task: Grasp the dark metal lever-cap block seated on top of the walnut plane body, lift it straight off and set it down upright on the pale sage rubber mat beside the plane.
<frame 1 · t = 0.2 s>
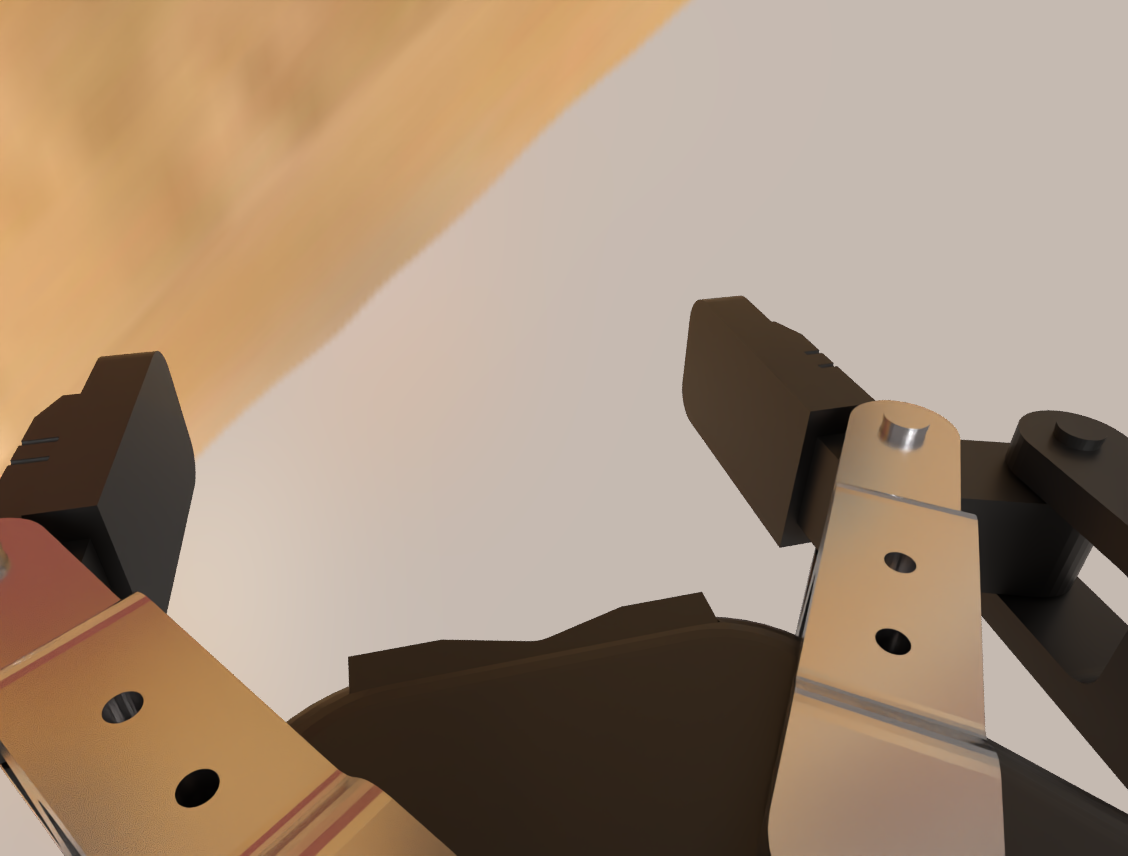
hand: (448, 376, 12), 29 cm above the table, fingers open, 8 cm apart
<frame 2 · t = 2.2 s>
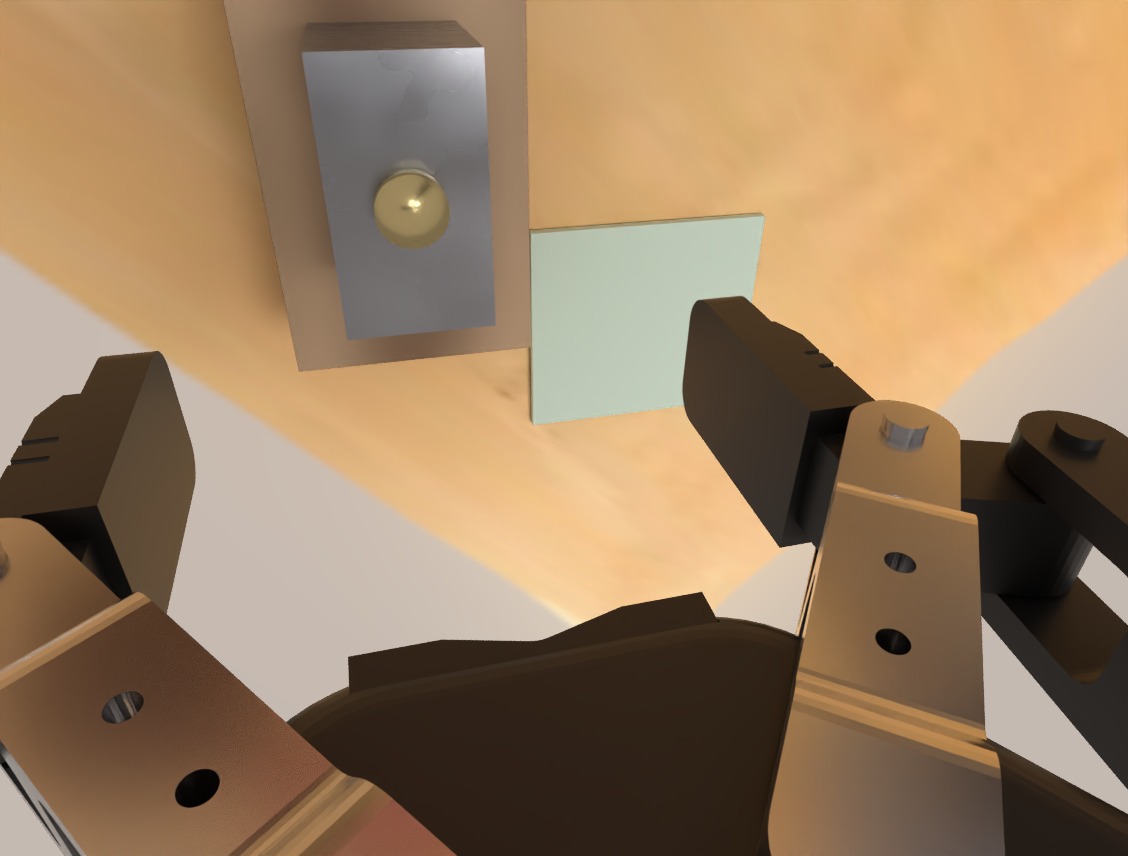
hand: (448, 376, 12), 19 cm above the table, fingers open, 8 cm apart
mat: (641, 321, 34), on the table
plane body: (386, 115, 27), on the table
lever cap: (396, 152, 23), point 5 cm above the table, touching plane body
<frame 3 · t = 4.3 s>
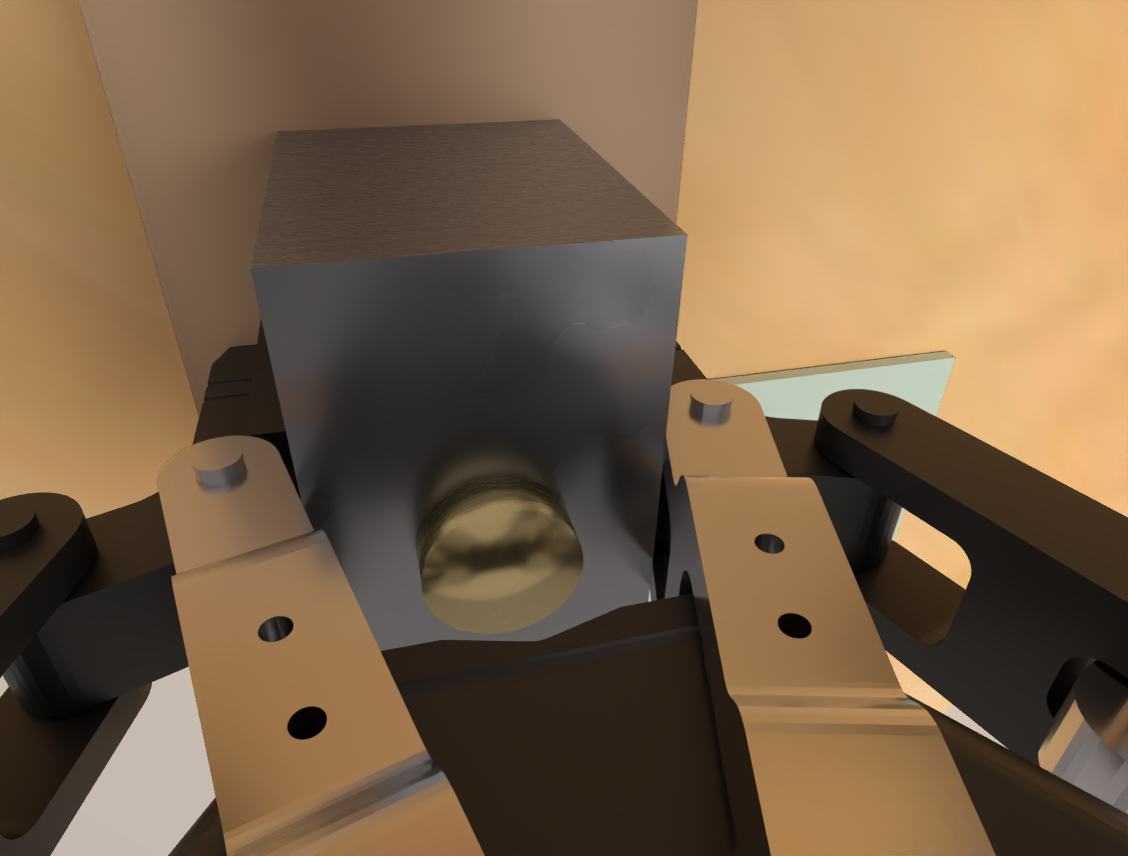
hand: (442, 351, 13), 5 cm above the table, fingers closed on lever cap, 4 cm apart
mat: (765, 496, 24), on the table
plane body: (413, 240, 17), on the table
lever cap: (441, 344, 13), point 5 cm above the table, touching gripper, plane body
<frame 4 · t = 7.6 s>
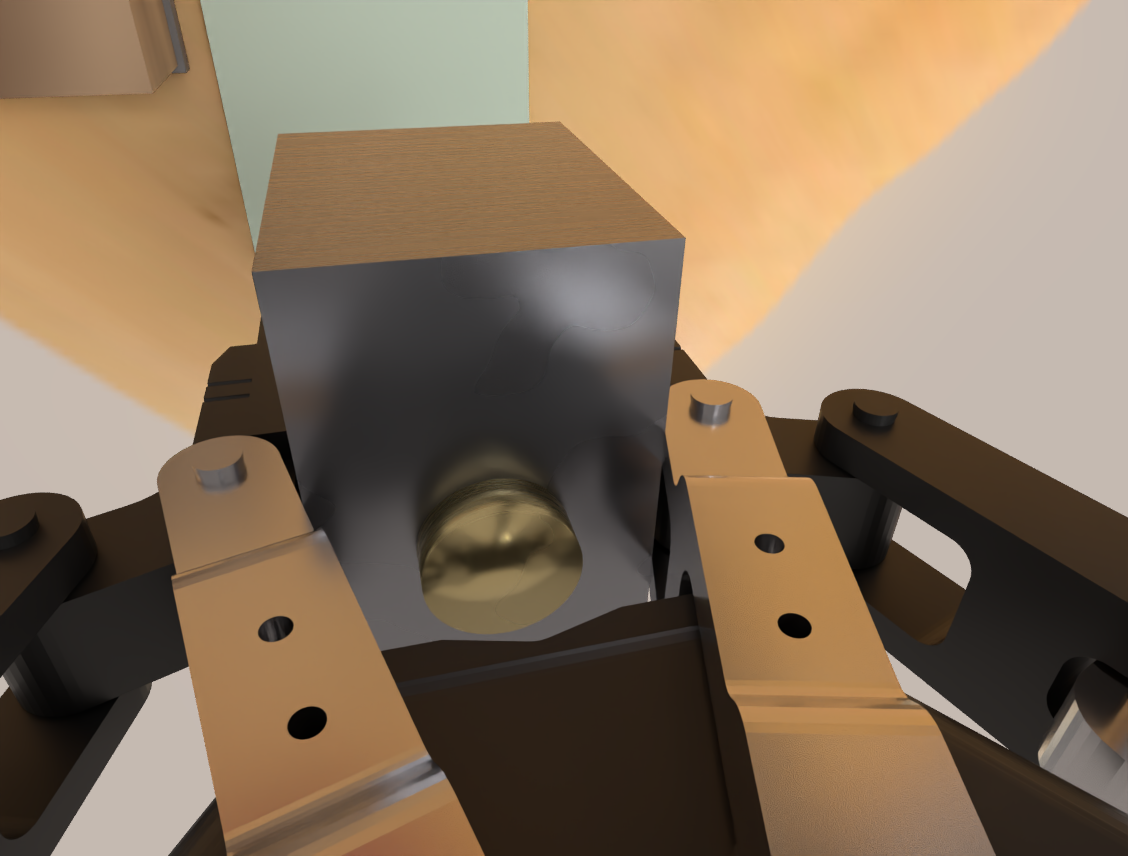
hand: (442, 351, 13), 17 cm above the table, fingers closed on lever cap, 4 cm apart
mat: (383, 120, 27), on the table
lever cap: (441, 345, 13), point 17 cm above the table, touching gripper
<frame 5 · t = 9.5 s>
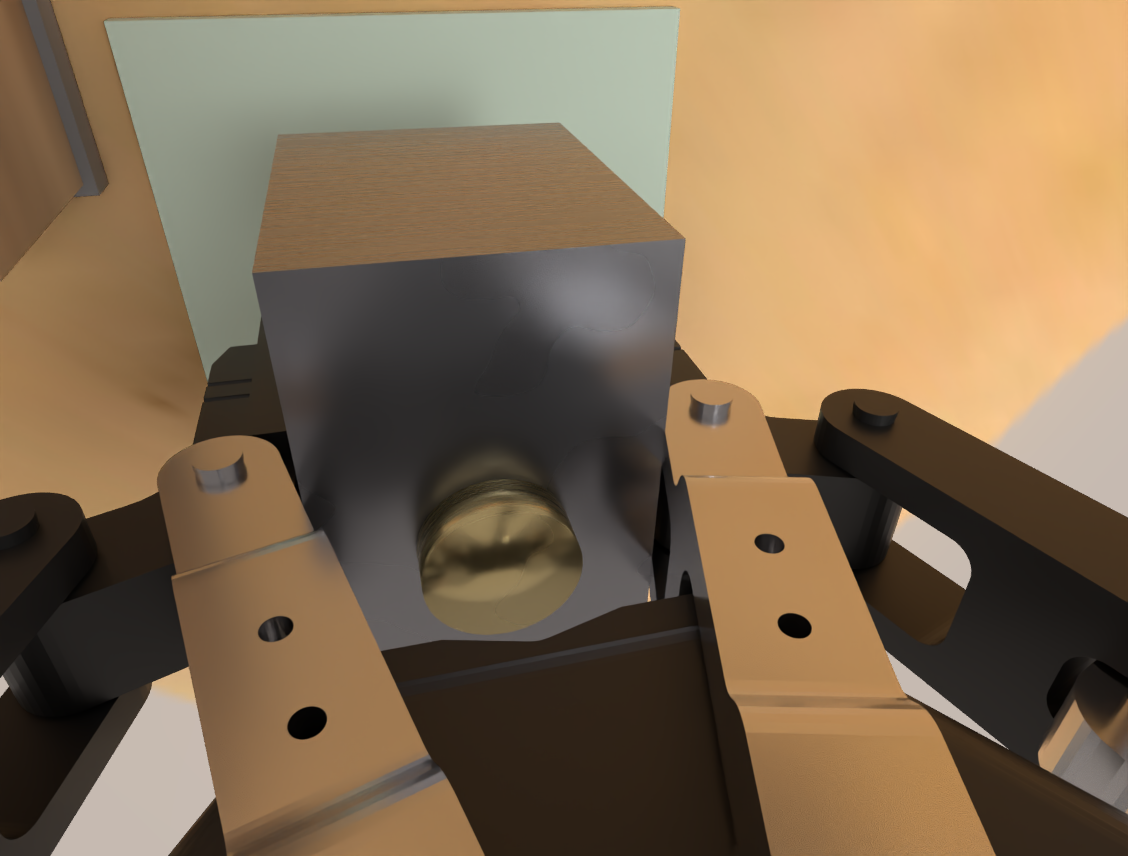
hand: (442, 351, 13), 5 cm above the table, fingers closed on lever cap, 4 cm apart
mat: (433, 250, 17), on the table
lever cap: (441, 345, 13), point 4 cm above the table, touching gripper
when the fingers open (2 cm above the table, at t = 11.0 s): lever cap drops 1 cm, resting on mat.
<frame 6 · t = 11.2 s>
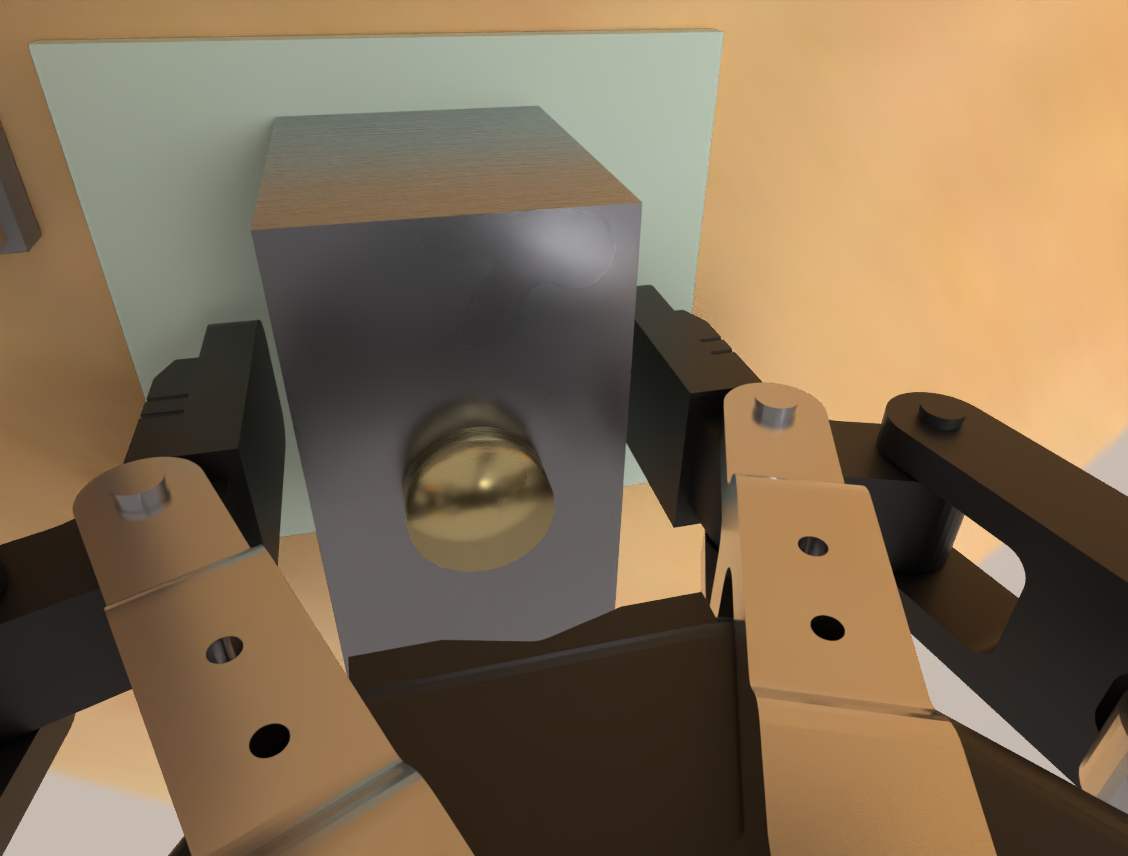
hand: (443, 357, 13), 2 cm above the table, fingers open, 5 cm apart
mat: (430, 307, 14), on the table
lever cap: (430, 318, 14), resting on mat
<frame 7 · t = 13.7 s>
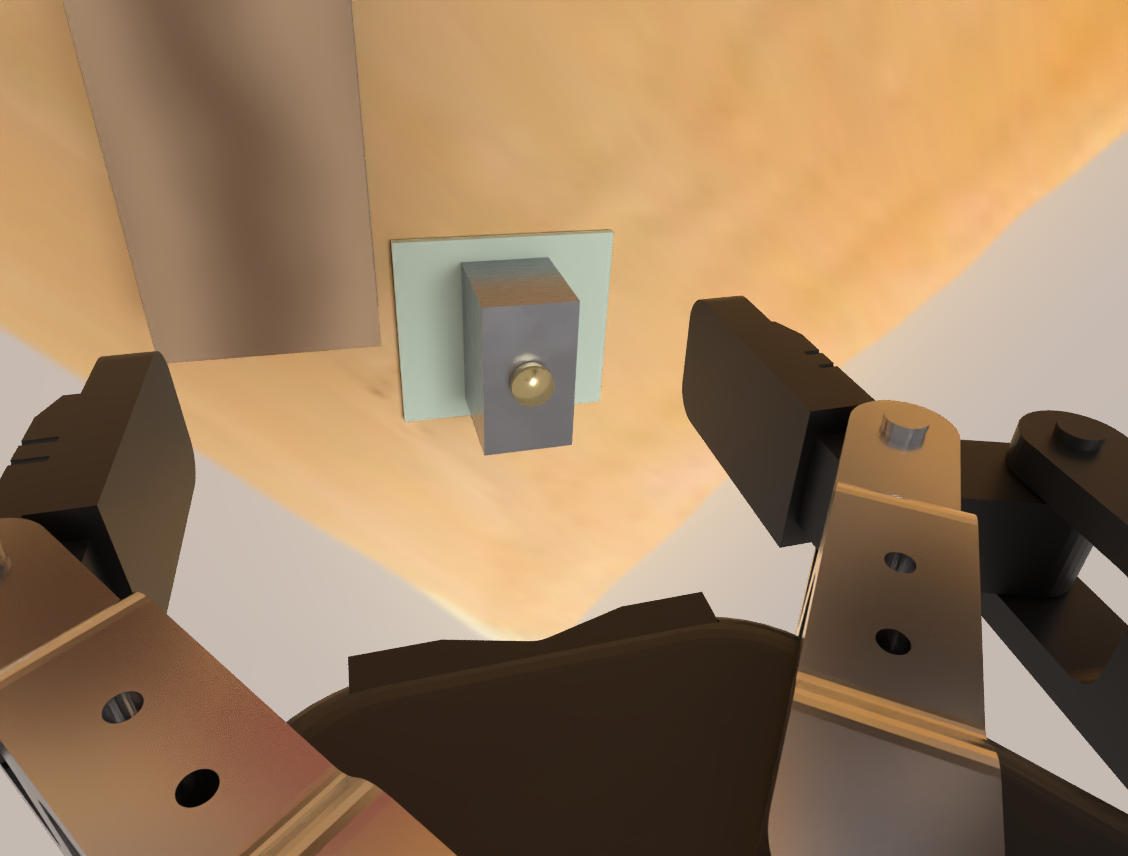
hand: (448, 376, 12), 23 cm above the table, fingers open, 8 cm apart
mat: (504, 326, 37), on the table
plane body: (248, 132, 30), on the table
lever cap: (505, 330, 37), resting on mat
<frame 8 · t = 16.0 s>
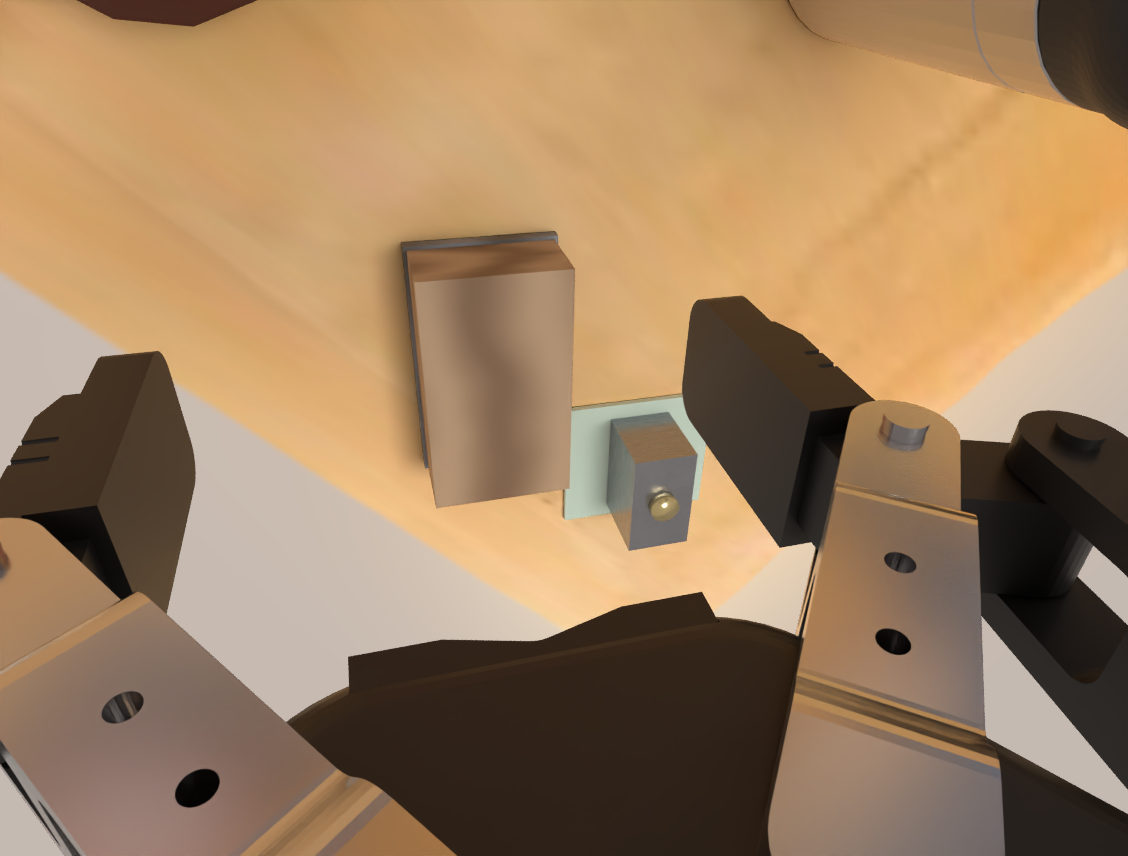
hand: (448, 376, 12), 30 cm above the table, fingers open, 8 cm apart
mat: (635, 455, 53), on the table
plane body: (485, 354, 46), on the table
lever cap: (636, 458, 53), resting on mat
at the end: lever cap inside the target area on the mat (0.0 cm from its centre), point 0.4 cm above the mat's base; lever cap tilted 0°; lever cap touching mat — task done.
